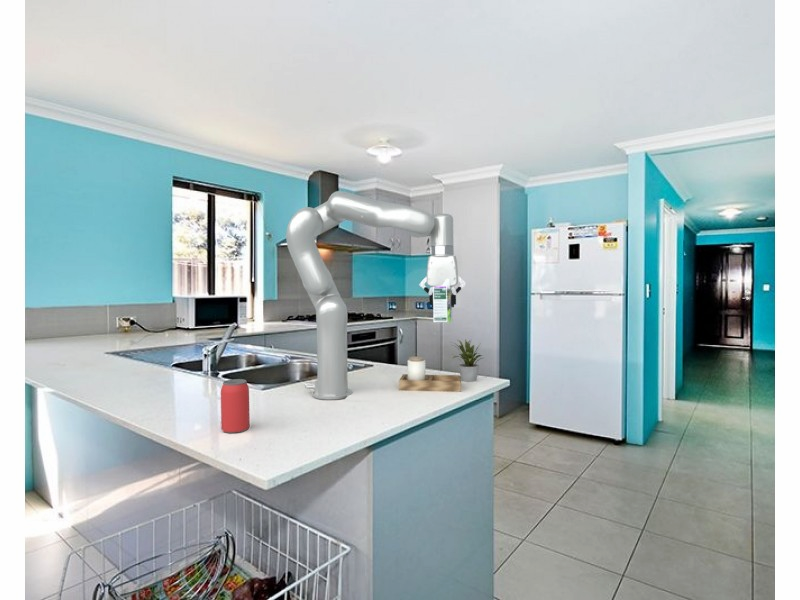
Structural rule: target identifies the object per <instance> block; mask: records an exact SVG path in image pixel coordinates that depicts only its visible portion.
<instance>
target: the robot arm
mask: <svg viewBox="0 0 800 600" xmlns="http://www.w3.org/2000/svg"><path fill="white" fill-rule="evenodd" d="M290 218H291V219H290V220H289V222H288V225H287V228H286V232H285V234H286V235H285V239H286V240H285V241H286V246H287V249H288V253H289V254H290V257H291V259H292V261H293V264H294V265H295V268H296V270H297V272H298V273H297V274H298V275H299V277H300V279H301V281H302V286H303V288H304V289H305V291H306V292H307V294H308V297H309V299H310V301H311V303H312V305H313V307H314V310H315V312H316V314H315V317H316V318H315V320H316V352H317V353H316V359H317V360H316V363H317V367H316V370H317V371H316V372H317V378H316V379H317V380H316V381H314V382H312V381H305V383H304V388H305V389H307V390H312V389H313V392H312V397H313V398H315V399H318V400H327V401H328V400H330V401H332V400H341V399H346V398H347V397H348V396H350V395H352V394H353V390H352V389H350V388H348V386H349V383H348V309H347V305H346V303H345V302H344V300H343V298H342V297H341V294H340V292H339V290H338V289H337V288H338V287H337V286H336V283H335V281H334V279H333V275H332V274H331V272H330V271H329V269H328V268H327V266H326V264H325V262H324V260H323V258H322V255H321V253H320V250H319V248H318V246H317V244H316V239H315V238H316V237H317V236H319V235H321V234H323V233H325V232H327V231H329V230H331V229H333V228H334V227H337V226H338V225H340V224H341V223H343V222H345V221H348V222H351V223H352V222H353V223H357V224H361V225H364V226H368V227H373V228H379V229H380V228H393V229H399V230H404V231H406V232H407V234H408V235H409V236H411V237H412V238H424V237H430V248H427V249H426V252H425V253H426V254H429V255H430V256H428V258H427V264H426V276H425V277H424V278H423V279H422V280H421V281H420V283H419V284H418V286H419V287H420V288H421V289H422V290H423V291H424V292H425V293H427V294H428V295H429V296H428V297H429V306H431V308H433V287H434V286H442V285H443V283H444V282H445V280H446V279H449V278H450V286H451V290H452V295H451V301H452V308H454V307H455V306H456V305H457V294H458V293H459V292H460V291H461V290H463V288H464V287H465V286H466V285H467V283H466V282H465V280H464V279H463V278H461V276H460V275H459V270H458V261H457V260H458V259H457V257H456V255H454V251H455V250H454V249H455V248H454V217H453V216H452V214H449V213H435V214H431V213H430V212H428V211H426V210H424V209H421V208H417V207H413V206H410V205H405V204H401V203H393V202H388V201H383V200H378V199H374V198H369V197H366V196H363V195H359V194H356V193H352V192H348V191H343V190H337V191H334V192H333V193H331V195H330V196H329V197H328V200H327V201H325V202H324V203H322V204H320V205H318V206H316V207H314V208H313V207H310V206H309V207H308V206H305V207H302V208H300V209H298V210H297V211H296V212H295V213H294V214H293V215H292V217H290ZM458 283H460V285H459V286H458V287H455V286H457V285H458ZM425 284H427V286H426V285H425Z"/></svg>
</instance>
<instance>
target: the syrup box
mask: <svg viewBox="0 0 800 600" xmlns="http://www.w3.org/2000/svg"><path fill="white" fill-rule="evenodd" d="M452 293H453V292H452V290H451V286H450V278H449V279H446V280H445V282H444V283H443V285H442V286H434V287H433V307H432V308H433V309H432V310H433V311H432V312H433V314H432V315H433V316H432V317H433V318H432V319H433V323H434V324H435V323H451V322H453V307H452V301H451V295H452Z"/></svg>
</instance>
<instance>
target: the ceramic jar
mask: <svg viewBox="0 0 800 600" xmlns="http://www.w3.org/2000/svg"><path fill="white" fill-rule="evenodd" d="M407 374H408V380H425V375H426V359H425V358H424V356H417V355H415V356H409V357H408V360H407Z"/></svg>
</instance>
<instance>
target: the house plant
mask: <svg viewBox="0 0 800 600" xmlns="http://www.w3.org/2000/svg"><path fill="white" fill-rule="evenodd" d="M457 341H458V342H459V343H460V345H458V344H457V343H456V342H455V343H454V342H451V341H450V343H452V346H453V347H455V348H457V350H458V351H459V354H458V355H453V357H452V360H453V359H455V358H457V359H458V360H460V362H461V364H458V367H459V368H458V369H459V375H461V382H464V383H474V382H477V380H478V374H479V366H480V365H479V364H477V363H478V361H480V360H481V359H483V357H481V356H483V355H482V354H480V353H479V352H478V350H479V349H478V348H479V347H480V345H481V343H479V345H478V346H477V347H476V349H475V345H474V344H473V345H471V343H472V340H468V341H467V339H464V344H463V342H462V341H461V340H459V339H457ZM453 344H455V345H453ZM477 354H478V355H477ZM459 355H460V356H459ZM458 357H460V358H461V359H462V360H463V361H462V360H461V359H460V358H458ZM479 357H481V358H479ZM463 362H464V363H463Z"/></svg>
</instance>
